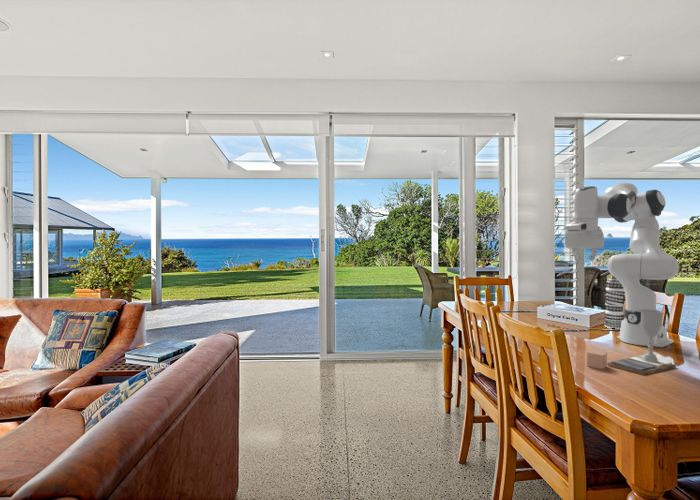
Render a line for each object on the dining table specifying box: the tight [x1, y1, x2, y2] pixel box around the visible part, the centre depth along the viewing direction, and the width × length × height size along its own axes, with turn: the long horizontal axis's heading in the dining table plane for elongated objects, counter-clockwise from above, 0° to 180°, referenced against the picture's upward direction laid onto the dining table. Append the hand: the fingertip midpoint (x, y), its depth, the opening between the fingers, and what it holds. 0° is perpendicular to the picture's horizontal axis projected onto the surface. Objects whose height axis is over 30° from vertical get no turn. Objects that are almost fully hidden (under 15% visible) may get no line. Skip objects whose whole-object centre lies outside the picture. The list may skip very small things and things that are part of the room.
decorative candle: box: [603, 278, 626, 330], centre depth 218 cm, size 9×9×25 cm
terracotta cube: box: [586, 349, 608, 370], centre depth 151 cm, size 5×5×5 cm
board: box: [607, 354, 676, 376], centre depth 152 cm, size 20×12×2 cm, turn 117°
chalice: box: [640, 309, 665, 363], centre depth 153 cm, size 7×7×18 cm
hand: (584, 259), depth 175 cm, fingers open, 8 cm apart
